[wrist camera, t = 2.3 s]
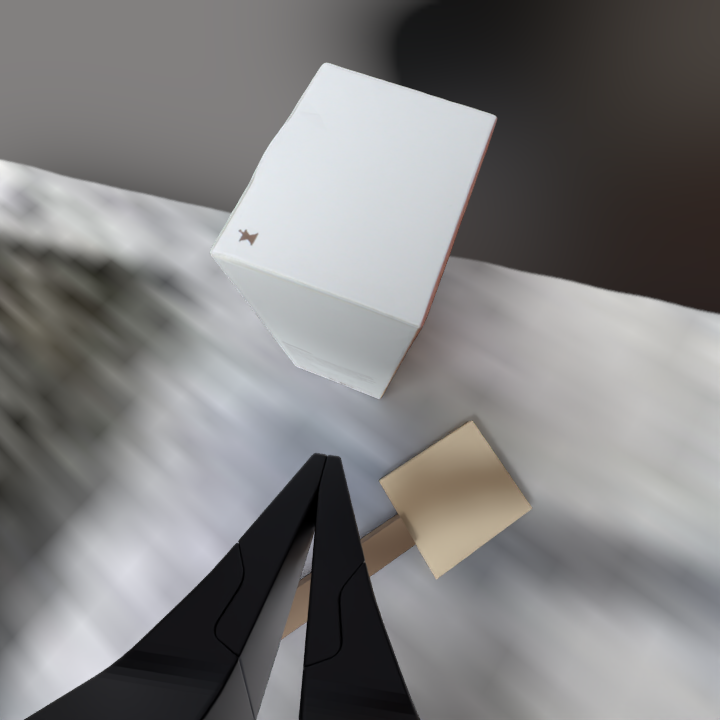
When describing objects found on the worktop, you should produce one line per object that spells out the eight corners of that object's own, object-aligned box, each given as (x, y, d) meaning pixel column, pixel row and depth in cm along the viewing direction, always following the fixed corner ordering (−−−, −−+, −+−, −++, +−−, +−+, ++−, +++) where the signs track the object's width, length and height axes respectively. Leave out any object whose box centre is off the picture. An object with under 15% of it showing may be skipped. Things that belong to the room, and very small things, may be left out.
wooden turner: (527, 506, 19) (536, 509, 18) (295, 677, 16) (291, 692, 15) (469, 421, 20) (474, 419, 19) (245, 567, 18) (239, 574, 17)
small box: (381, 401, 20) (423, 334, 8) (293, 367, 21) (198, 251, 8) (420, 297, 22) (503, 109, 10) (339, 268, 23) (318, 54, 10)
